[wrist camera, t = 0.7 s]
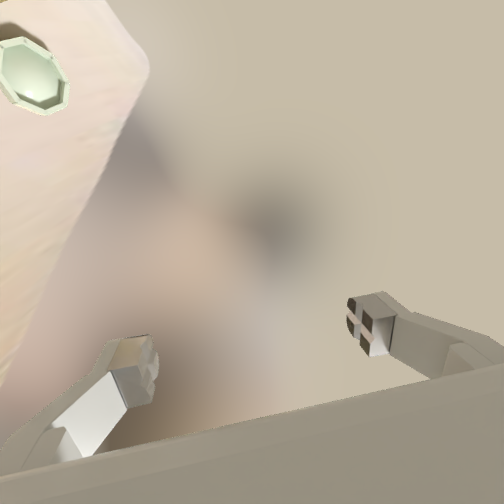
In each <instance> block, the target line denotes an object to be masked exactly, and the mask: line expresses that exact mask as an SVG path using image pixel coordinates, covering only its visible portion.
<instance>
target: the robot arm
mask: <svg viewBox="0 0 504 504" xmlns="http://www.w3.org/2000/svg"><path fill="white" fill-rule="evenodd" d="M347 307H348V308H349V309H350V311H349V313H348V314H347V326H348V329H349V331H350V333H351V334H352V336H353V337H354V338H356V339H358V340H360V346H361V348H363V350H364V351H365V353H366V354H367V355H368V356H369V357H372V356H379V355H384V354H390V355H391V356H393V357H394V358H396V359H398V360H399V361H401V362H403V363H405V364H406V365H408V366H410V367H411V368H413V369H415V370H416V371H418V372H420V373H422V374H423V375H425V376H427V377H429V378H430V380H426V381H421V382H417V383H413V384H408V385H403V386H399V387H395V388H390V389H386V390H381V391H377V392H372V393H368V394H363V395H359V396H354V397H350V398H346V399H341V400H337V401H332V402H328V403H323V404H319V405H314V406H310V407H306V408H301V409H297V410H292V411H288V412H284V413H279V414H274V415H270V416H265V417H261V418H257V419H252V420H248V421H243V422H239V423H234V424H231V425H226V426H221V427H217V428H212V429H208V430H204V431H199V432H195V433H191V434H186V435H181V436H177V437H173V438H168V439H164V440H159V441H155V442H150V443H146V444H142V445H137V446H132V447H128V448H124V449H119V450H115V451H110V452H106V453H102V454H97V455H92V454H93V453H94V452H95V451H96V449H97V448H98V447H99V446H100V444H101V443H102V442H103V440H104V439H105V438H106V436H107V435H108V434H109V433H110V431H111V430H112V429H113V427H114V426H115V425H116V424H117V422H118V421H119V419H120V418H121V417H122V416H123V414H124V413H125V412H126V411H127V408H131V407H135V406H139V405H144V404H148V403H151V402H152V398H153V394H154V390H155V384H154V382H153V381H154V380H155V378H156V377H157V376H158V371H159V358H158V354H157V351H156V350H154V349H153V348H152V346H153V343H154V342H153V339H152V336H151V335H150V334H146V335H140V336H133V337H127V338H123V339H116V340H111V341H108V342H107V343H106V344H105V346H104V348H103V350H102V352H101V354H100V356H99V357H98V359H97V361H96V363H95V365H94V367H93V369H92V371H91V373H90V374H89V375H86V376H84V377H83V378H81V379H80V380H79V381H78V382H76V383H75V384H74V385H73V386H71V387H70V388H69V389H68V390H67V391H66V392H64V393H63V394H62V395H60V396H59V397H58V398H57V399H55V400H54V401H53V402H52V403H50V404H49V405H48V406H47V407H45V408H44V409H43V410H42V411H41V412H39V413H38V414H37V415H36V416H34V417H33V418H32V419H31V420H29V421H28V422H27V423H26V424H24V425H23V426H22V427H21V428H19V429H18V430H17V431H16V432H14V433H13V434H12V435H11V436H10V437H9V438H8V440H7V441H6V442H5V444H4V445H3V447H2V448H1V450H0V504H504V347H503V346H502V345H500V344H499V343H497V342H496V341H494V340H493V339H491V338H490V337H489V336H486V335H483V334H480V333H477V332H474V331H471V330H468V329H465V328H462V327H458V326H456V325H453V324H450V323H447V322H444V321H440V320H437V319H434V318H431V317H428V316H425V315H422V314H419V313H416V312H413V313H411V312H410V311H409V310H407V309H406V308H405V307H404V306H402V305H401V304H400V303H398V302H397V301H396V300H395V299H394V298H392V297H391V296H390V295H389V294H388V293H386V292H384V291H381V292H377V293H372V294H369V295H363V296H358V297H352V298H349V299H348V302H347Z"/></svg>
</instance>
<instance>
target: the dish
mask: <svg viewBox="0 0 504 504" xmlns="http://www.w3.org/2000/svg"><path fill="white" fill-rule="evenodd" d="M69 83H70V82H69V80H68V78H67V77H66V75H65V73H64V71H63V70H62V68H61V66H60V65H59V63H58V61H57V59H56V58H55V56H53V54H52V53H50V52H48V51H47V50H45V49H44V48H42V47H40V46H39V45H37V44H36V43H34V42H32V41H31V40H29V39H28V38H26V37H23V36H22V37H17V38H12V39H8V40H3V41H0V89H1V90H2V92H3V93H4V94H5V96H6V97H7V98H8V100H9V101H10V102H11V103H12V104H14V105H16V106H19V107H21V108H24V109H26V110H29V111H31V112H34V113H36V114H38V115H42V116H48V115H50V114H53V113H55V112H57V111H59V110H62V109H64V108H66V106H68V98H69V90H70V84H69Z"/></svg>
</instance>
